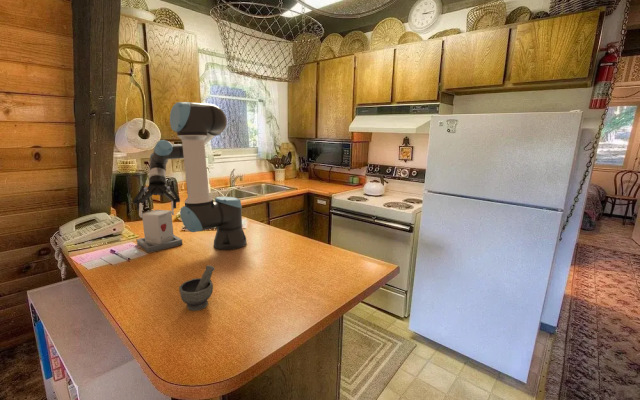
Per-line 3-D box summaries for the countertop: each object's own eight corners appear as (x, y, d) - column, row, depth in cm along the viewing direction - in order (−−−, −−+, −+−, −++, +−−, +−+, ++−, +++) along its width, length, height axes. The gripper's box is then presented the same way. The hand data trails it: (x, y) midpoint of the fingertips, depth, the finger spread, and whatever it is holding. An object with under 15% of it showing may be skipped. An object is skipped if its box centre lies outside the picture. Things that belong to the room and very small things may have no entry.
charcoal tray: (182, 244, 144) (182, 239, 143) (148, 253, 133) (147, 247, 132) (170, 236, 154) (169, 232, 153) (137, 244, 143) (136, 239, 142)
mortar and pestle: (189, 318, 88) (185, 280, 85) (175, 305, 94) (171, 270, 91) (223, 302, 96) (221, 268, 93) (208, 292, 102) (206, 259, 99)
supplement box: (161, 246, 138) (157, 215, 134) (144, 244, 140) (140, 213, 136) (174, 240, 146) (171, 210, 143) (159, 238, 148) (156, 209, 145)
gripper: (185, 182, 160) (186, 216, 150) (131, 184, 151) (128, 221, 141) (183, 173, 154) (184, 208, 144) (127, 175, 145) (124, 213, 135)
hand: (156, 214), depth 142 cm, fingers open, 13 cm apart
